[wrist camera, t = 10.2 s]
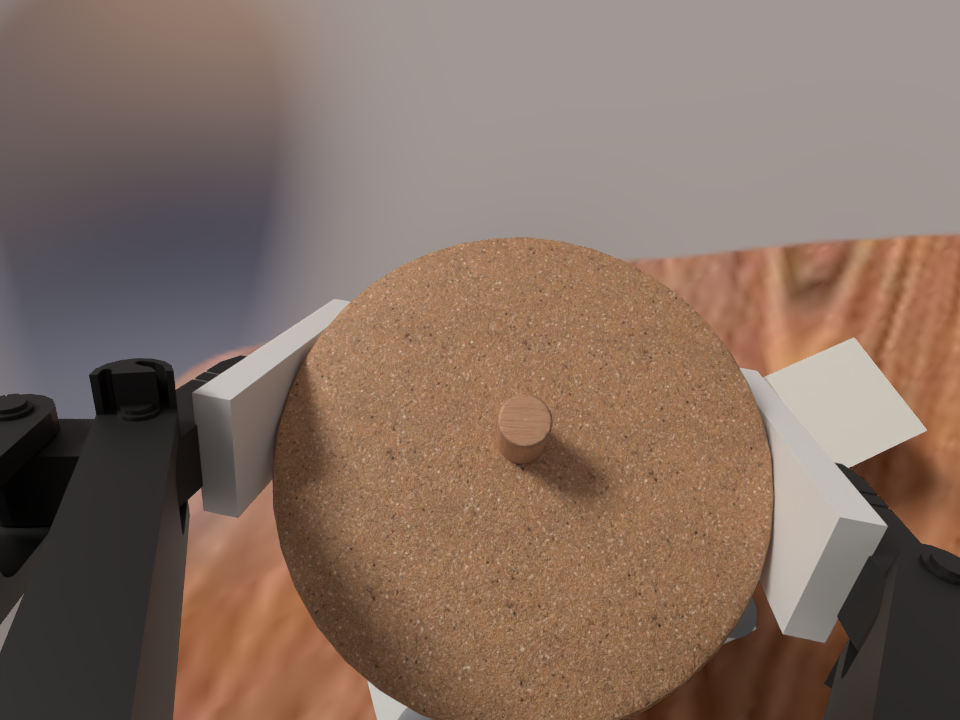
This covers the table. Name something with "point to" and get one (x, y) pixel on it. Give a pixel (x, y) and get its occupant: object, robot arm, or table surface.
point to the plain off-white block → (845, 403)
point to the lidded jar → (523, 485)
